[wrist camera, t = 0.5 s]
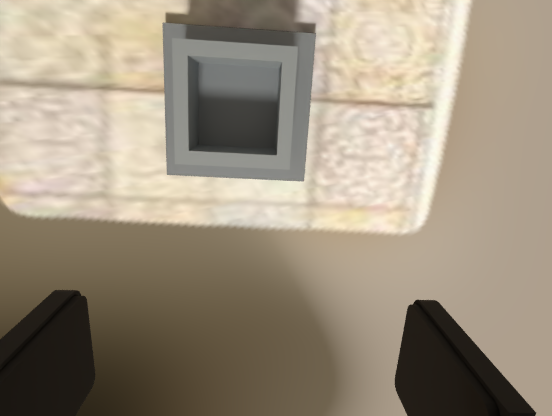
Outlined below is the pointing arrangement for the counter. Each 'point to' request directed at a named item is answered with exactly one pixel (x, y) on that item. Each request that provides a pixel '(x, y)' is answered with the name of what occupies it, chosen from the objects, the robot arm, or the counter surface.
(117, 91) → the counter surface
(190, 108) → the socket holder
